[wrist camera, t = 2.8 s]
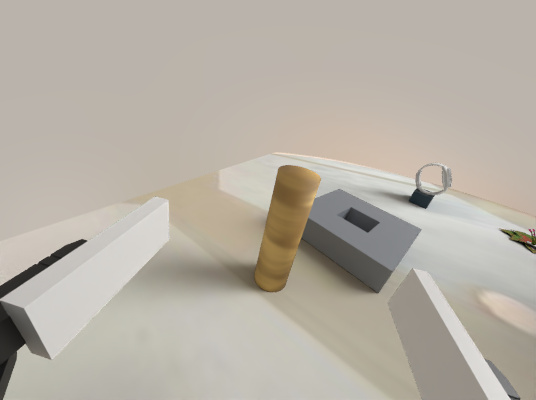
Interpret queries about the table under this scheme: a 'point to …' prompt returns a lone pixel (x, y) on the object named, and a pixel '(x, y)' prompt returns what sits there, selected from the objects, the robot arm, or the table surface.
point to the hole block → (358, 236)
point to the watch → (424, 196)
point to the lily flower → (523, 237)
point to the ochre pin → (285, 225)
